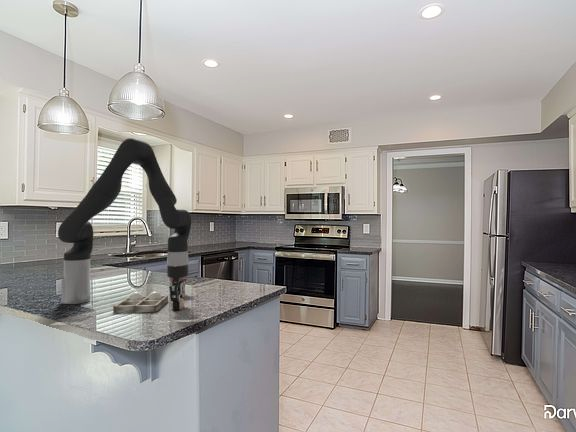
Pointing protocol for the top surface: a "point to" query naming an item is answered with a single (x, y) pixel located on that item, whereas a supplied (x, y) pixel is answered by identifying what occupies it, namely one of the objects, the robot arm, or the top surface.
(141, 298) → the white egg back left
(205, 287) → the top surface
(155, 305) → the divided tray
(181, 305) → the beige ball
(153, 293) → the white egg back right
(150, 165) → the robot arm
